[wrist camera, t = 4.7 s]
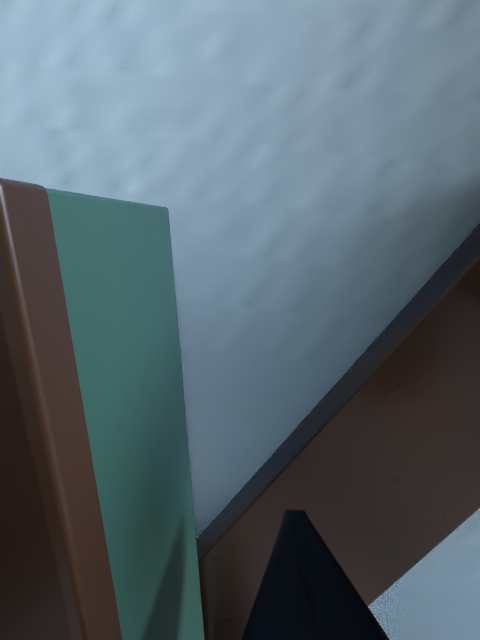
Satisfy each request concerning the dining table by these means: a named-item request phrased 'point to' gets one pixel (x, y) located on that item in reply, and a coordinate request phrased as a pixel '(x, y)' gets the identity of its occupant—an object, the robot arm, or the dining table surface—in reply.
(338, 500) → the gate frame
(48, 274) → the door
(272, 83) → the dining table surface
